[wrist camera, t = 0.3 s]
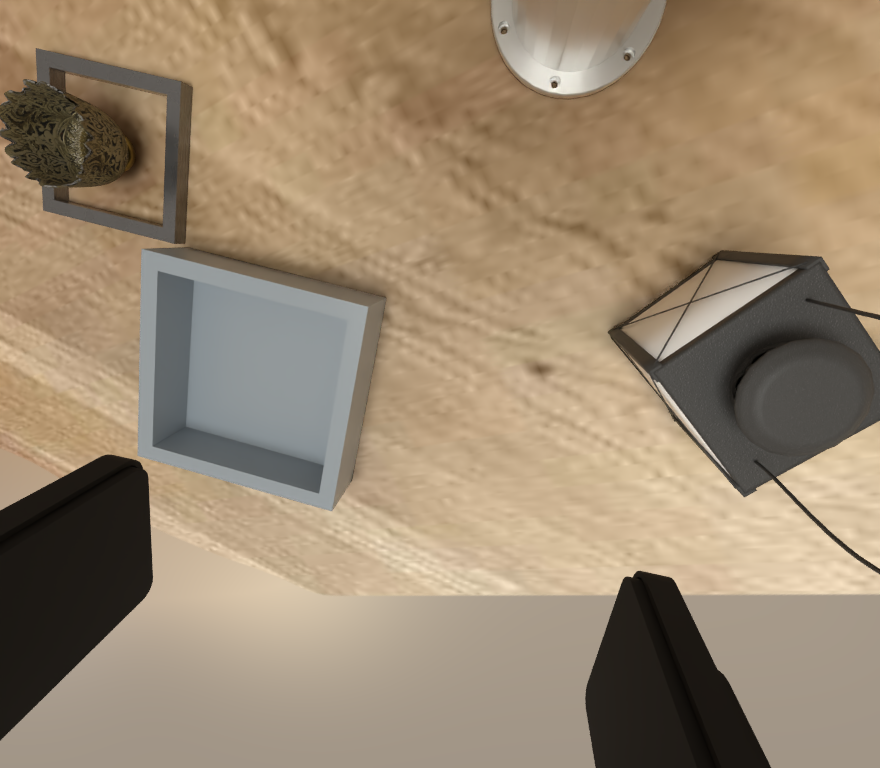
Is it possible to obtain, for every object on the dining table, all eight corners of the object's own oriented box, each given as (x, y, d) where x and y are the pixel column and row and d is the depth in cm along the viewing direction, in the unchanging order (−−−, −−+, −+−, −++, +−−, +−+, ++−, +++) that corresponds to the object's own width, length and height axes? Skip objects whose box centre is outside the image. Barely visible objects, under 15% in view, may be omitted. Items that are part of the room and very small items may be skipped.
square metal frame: (51, 54, 42) (35, 48, 40) (192, 87, 41) (181, 81, 40) (57, 211, 46) (43, 210, 45) (184, 243, 45) (174, 243, 44)
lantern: (676, 424, 44) (933, 710, 17) (605, 331, 42) (770, 492, 16) (792, 351, 41) (1328, 567, 14) (721, 248, 39) (1173, 273, 13)
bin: (187, 247, 45) (141, 248, 40) (386, 297, 44) (368, 306, 38) (178, 431, 52) (137, 455, 46) (351, 480, 50) (331, 511, 45)
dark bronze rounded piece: (110, 207, 45) (30, 201, 38) (69, 128, 44) (-23, 105, 36) (172, 177, 44) (101, 164, 36) (132, 93, 42) (50, 61, 34)
